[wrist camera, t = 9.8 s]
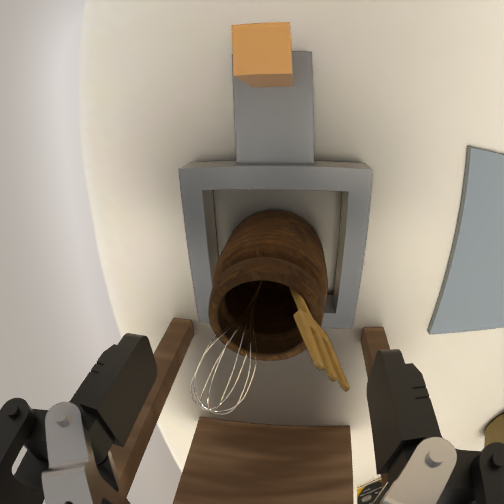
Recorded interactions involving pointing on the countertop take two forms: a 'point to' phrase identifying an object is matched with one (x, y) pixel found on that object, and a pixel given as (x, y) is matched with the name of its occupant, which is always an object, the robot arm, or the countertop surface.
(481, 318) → the slate mat
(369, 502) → the medicine bottle
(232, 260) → the utensil holder
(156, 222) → the countertop surface
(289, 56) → the sliding frame
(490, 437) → the squeeze bottle
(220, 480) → the walnut shelf
